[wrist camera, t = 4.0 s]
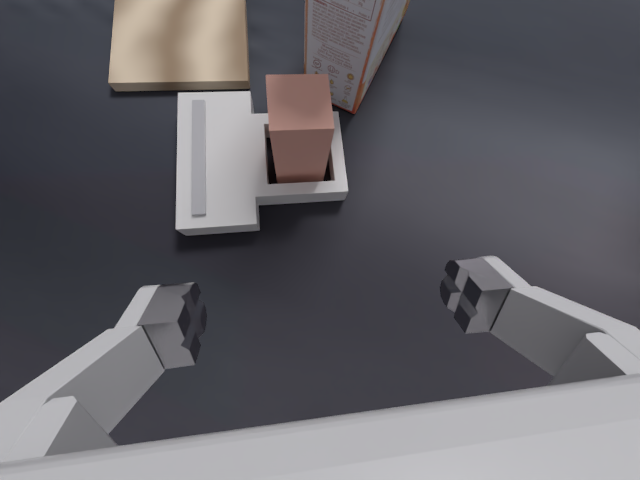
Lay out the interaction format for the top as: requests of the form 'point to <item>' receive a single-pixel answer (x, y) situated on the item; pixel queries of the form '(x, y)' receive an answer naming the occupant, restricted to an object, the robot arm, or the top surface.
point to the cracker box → (349, 43)
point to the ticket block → (300, 125)
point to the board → (179, 45)
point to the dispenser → (236, 165)
